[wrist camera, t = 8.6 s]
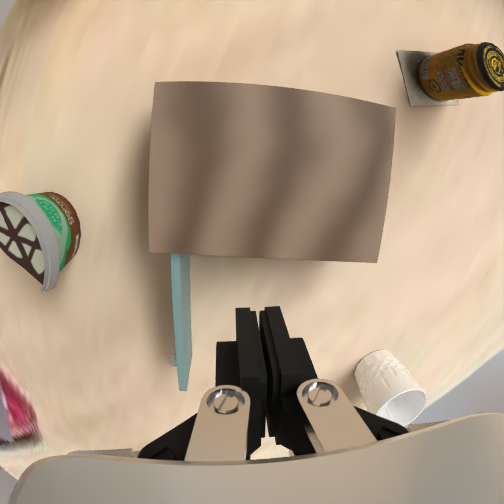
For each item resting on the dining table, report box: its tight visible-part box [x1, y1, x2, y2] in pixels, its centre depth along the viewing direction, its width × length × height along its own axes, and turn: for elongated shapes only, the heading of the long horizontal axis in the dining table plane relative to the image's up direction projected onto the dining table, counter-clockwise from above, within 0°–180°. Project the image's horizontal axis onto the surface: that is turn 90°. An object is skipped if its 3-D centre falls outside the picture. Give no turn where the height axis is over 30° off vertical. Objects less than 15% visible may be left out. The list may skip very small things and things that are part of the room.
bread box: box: [148, 82, 396, 263], centre depth 29 cm, size 20×14×9 cm
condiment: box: [397, 42, 504, 106], centre depth 25 cm, size 7×8×12 cm
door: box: [170, 253, 192, 391], centre depth 32 cm, size 16×2×7 cm, turn 177°
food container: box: [0, 191, 81, 292], centre depth 28 cm, size 12×6×10 cm, turn 50°
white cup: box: [354, 350, 427, 427], centre depth 38 cm, size 8×8×10 cm
